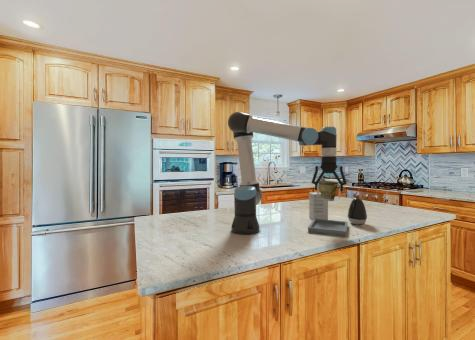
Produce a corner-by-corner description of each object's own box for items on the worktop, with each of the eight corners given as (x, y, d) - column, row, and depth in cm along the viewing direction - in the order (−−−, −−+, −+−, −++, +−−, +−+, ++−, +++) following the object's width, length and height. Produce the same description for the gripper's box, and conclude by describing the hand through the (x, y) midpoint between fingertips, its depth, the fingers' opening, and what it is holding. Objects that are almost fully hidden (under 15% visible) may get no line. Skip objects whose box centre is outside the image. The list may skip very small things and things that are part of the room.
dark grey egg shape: (367, 222, 144) (367, 197, 144) (366, 226, 135) (366, 199, 135) (349, 220, 150) (349, 196, 149) (346, 224, 141) (346, 198, 140)
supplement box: (328, 221, 148) (328, 194, 148) (313, 221, 148) (313, 194, 148) (323, 217, 158) (323, 192, 157) (308, 217, 158) (308, 192, 157)
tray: (308, 232, 126) (308, 227, 126) (314, 222, 145) (314, 218, 145) (345, 236, 118) (345, 231, 118) (347, 226, 137) (347, 221, 137)
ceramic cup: (314, 199, 135) (314, 181, 134) (328, 198, 139) (328, 180, 138) (331, 203, 123) (332, 183, 123) (346, 201, 127) (346, 182, 126)
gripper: (305, 156, 132) (305, 196, 133) (352, 155, 122) (351, 199, 123) (308, 156, 139) (308, 195, 139) (352, 155, 129) (352, 197, 129)
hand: (328, 197), depth 131 cm, fingers closed on ceramic cup, 10 cm apart
